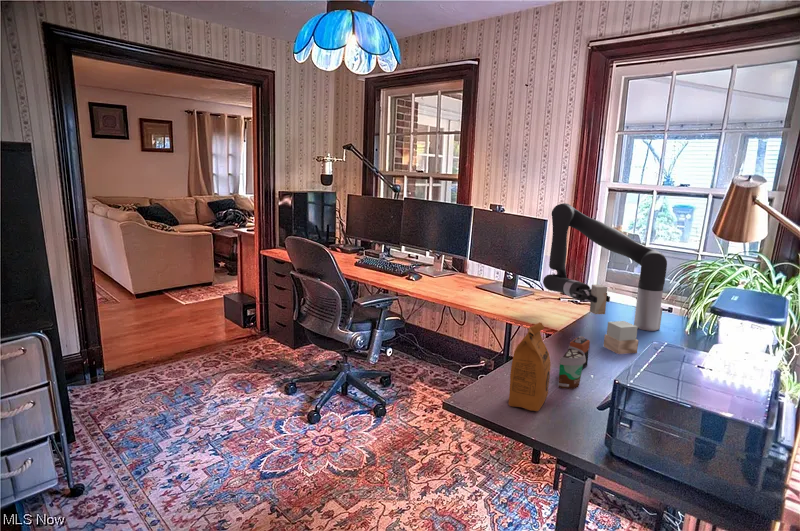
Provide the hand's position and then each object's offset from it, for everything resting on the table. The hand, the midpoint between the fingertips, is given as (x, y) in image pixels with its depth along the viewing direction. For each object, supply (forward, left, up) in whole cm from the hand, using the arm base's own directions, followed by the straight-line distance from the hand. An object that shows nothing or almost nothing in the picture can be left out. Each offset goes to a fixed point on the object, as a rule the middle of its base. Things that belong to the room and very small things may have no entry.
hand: (602, 299), depth 177 cm
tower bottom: (0, +12, -16) cm, 20 cm away
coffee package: (+55, +44, -16) cm, 73 cm away
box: (0, -3, -6) cm, 7 cm away
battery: (+26, +24, -16) cm, 39 cm away
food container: (+36, +36, -16) cm, 54 cm away
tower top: (0, +12, -11) cm, 17 cm away
